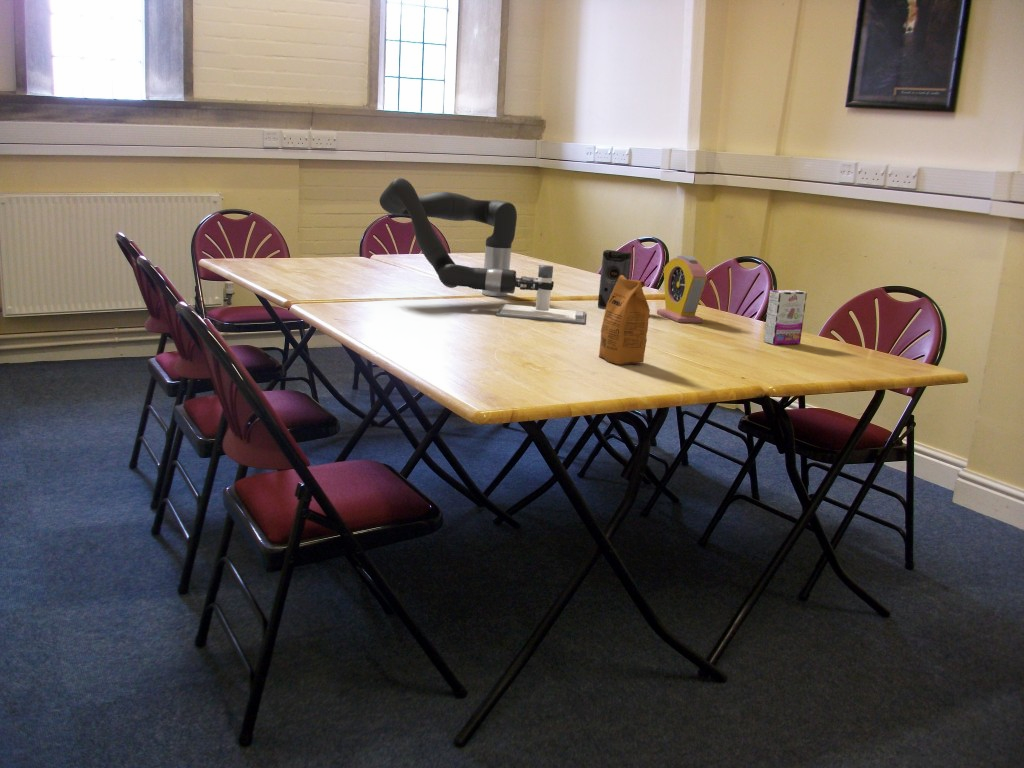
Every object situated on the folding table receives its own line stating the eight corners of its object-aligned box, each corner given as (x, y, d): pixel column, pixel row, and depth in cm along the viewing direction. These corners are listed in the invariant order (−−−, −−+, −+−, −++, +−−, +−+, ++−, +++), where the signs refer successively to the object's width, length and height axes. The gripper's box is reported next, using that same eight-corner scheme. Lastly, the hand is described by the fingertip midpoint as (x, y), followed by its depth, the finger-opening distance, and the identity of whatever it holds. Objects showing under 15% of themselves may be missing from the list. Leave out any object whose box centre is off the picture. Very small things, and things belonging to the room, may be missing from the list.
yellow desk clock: (652, 312, 342) (659, 250, 337) (676, 313, 345) (683, 252, 340) (682, 324, 322) (690, 259, 317) (707, 325, 325) (715, 260, 320)
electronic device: (596, 307, 342) (602, 250, 337) (601, 305, 347) (607, 249, 343) (621, 311, 339) (628, 253, 334) (626, 309, 344) (632, 252, 339)
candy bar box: (789, 341, 308) (796, 289, 304) (800, 344, 303) (808, 292, 299) (761, 341, 302) (769, 289, 299) (772, 345, 298) (780, 291, 294)
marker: (535, 307, 320) (539, 264, 317) (549, 309, 320) (553, 265, 317) (534, 310, 316) (538, 266, 312) (549, 311, 315) (552, 267, 312)
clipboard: (502, 305, 330) (502, 300, 329) (585, 313, 328) (585, 308, 328) (495, 315, 308) (496, 310, 308) (584, 324, 307) (585, 319, 306)
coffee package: (626, 355, 264) (635, 274, 259) (648, 366, 253) (658, 281, 248) (592, 355, 260) (601, 273, 255) (613, 366, 249) (623, 280, 244)
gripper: (499, 271, 309) (553, 276, 308) (503, 266, 323) (555, 271, 322) (497, 295, 311) (551, 300, 310) (501, 289, 325) (553, 294, 324)
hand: (552, 285), depth 316 cm, fingers open, 4 cm apart
